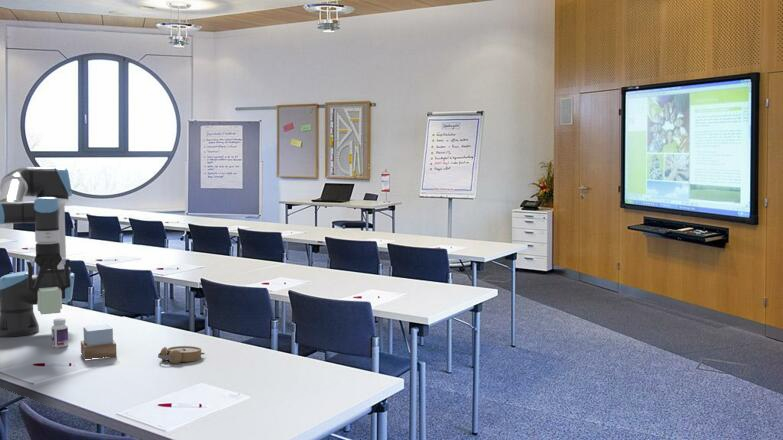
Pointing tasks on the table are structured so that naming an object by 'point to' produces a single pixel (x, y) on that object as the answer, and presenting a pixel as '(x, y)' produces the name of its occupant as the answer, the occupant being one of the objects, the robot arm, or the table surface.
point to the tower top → (98, 335)
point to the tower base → (98, 350)
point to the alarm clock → (180, 354)
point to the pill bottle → (59, 333)
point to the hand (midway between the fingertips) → (49, 309)
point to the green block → (50, 300)
